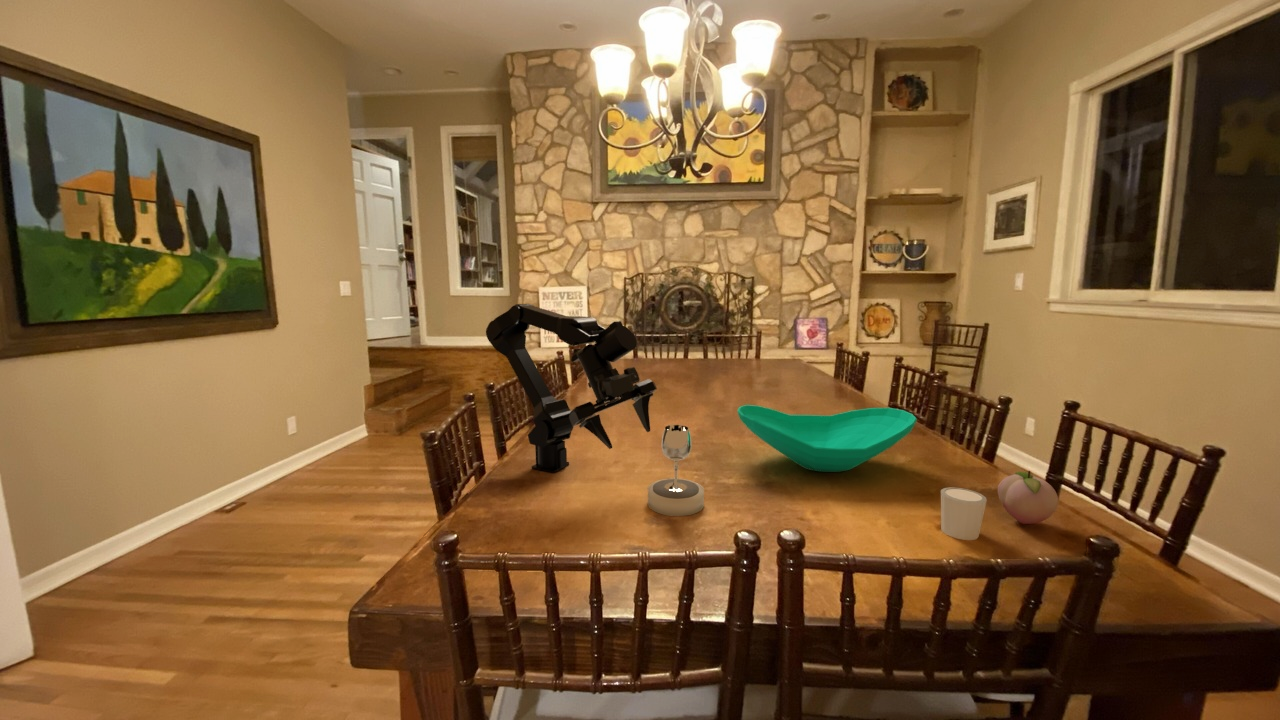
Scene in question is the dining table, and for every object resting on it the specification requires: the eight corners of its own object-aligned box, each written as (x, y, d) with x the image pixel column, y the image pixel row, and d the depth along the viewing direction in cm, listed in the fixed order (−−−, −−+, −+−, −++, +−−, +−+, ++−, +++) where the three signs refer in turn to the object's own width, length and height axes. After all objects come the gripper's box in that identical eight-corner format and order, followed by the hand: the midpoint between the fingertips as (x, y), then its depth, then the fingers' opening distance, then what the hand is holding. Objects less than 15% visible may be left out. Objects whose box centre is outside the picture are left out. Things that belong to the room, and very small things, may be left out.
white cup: (928, 524, 95) (931, 487, 94) (964, 522, 96) (968, 486, 95) (954, 542, 89) (958, 503, 87) (992, 541, 89) (996, 502, 88)
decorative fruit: (1066, 538, 90) (1073, 482, 89) (1013, 534, 92) (1019, 479, 90) (1035, 514, 99) (1042, 463, 98) (988, 510, 101) (993, 460, 99)
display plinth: (638, 509, 101) (638, 492, 101) (661, 488, 111) (661, 473, 110) (692, 520, 96) (692, 503, 96) (711, 498, 106) (711, 482, 106)
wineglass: (693, 492, 101) (694, 431, 99) (664, 494, 100) (664, 433, 98) (686, 480, 107) (687, 423, 105) (658, 482, 106) (659, 424, 104)
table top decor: (742, 487, 112) (744, 426, 110) (730, 446, 139) (731, 397, 137) (937, 493, 109) (942, 431, 107) (885, 450, 136) (889, 400, 134)
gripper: (569, 373, 100) (602, 449, 97) (650, 345, 108) (683, 414, 105) (556, 390, 109) (586, 460, 107) (631, 363, 118) (661, 426, 115)
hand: (630, 439), depth 108 cm, fingers open, 9 cm apart
